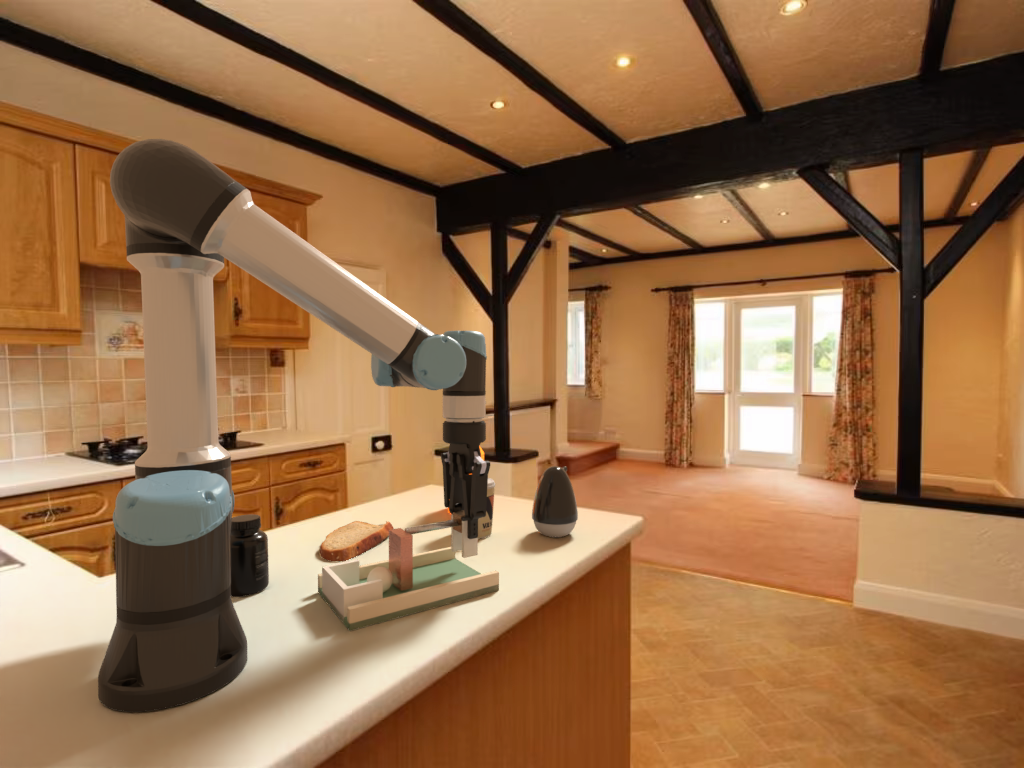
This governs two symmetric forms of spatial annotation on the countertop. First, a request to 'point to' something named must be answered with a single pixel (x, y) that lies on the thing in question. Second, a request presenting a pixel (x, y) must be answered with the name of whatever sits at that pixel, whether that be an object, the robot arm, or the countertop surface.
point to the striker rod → (404, 548)
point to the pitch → (432, 587)
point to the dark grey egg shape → (554, 503)
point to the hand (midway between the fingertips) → (464, 552)
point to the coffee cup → (487, 512)
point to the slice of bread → (353, 540)
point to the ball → (381, 577)
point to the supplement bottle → (248, 556)
